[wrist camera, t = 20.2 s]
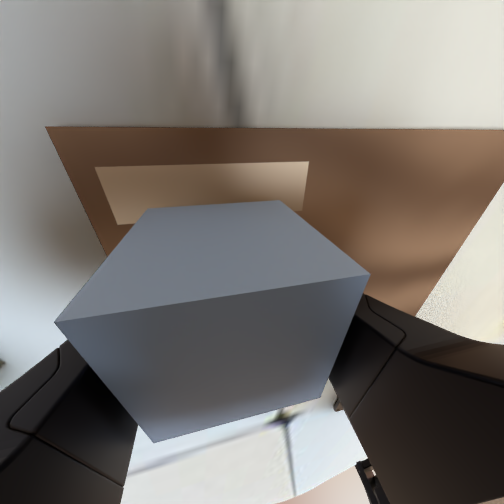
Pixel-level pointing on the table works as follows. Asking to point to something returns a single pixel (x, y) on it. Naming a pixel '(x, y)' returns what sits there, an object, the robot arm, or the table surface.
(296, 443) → the table surface
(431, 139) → the board
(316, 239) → the slate cube
